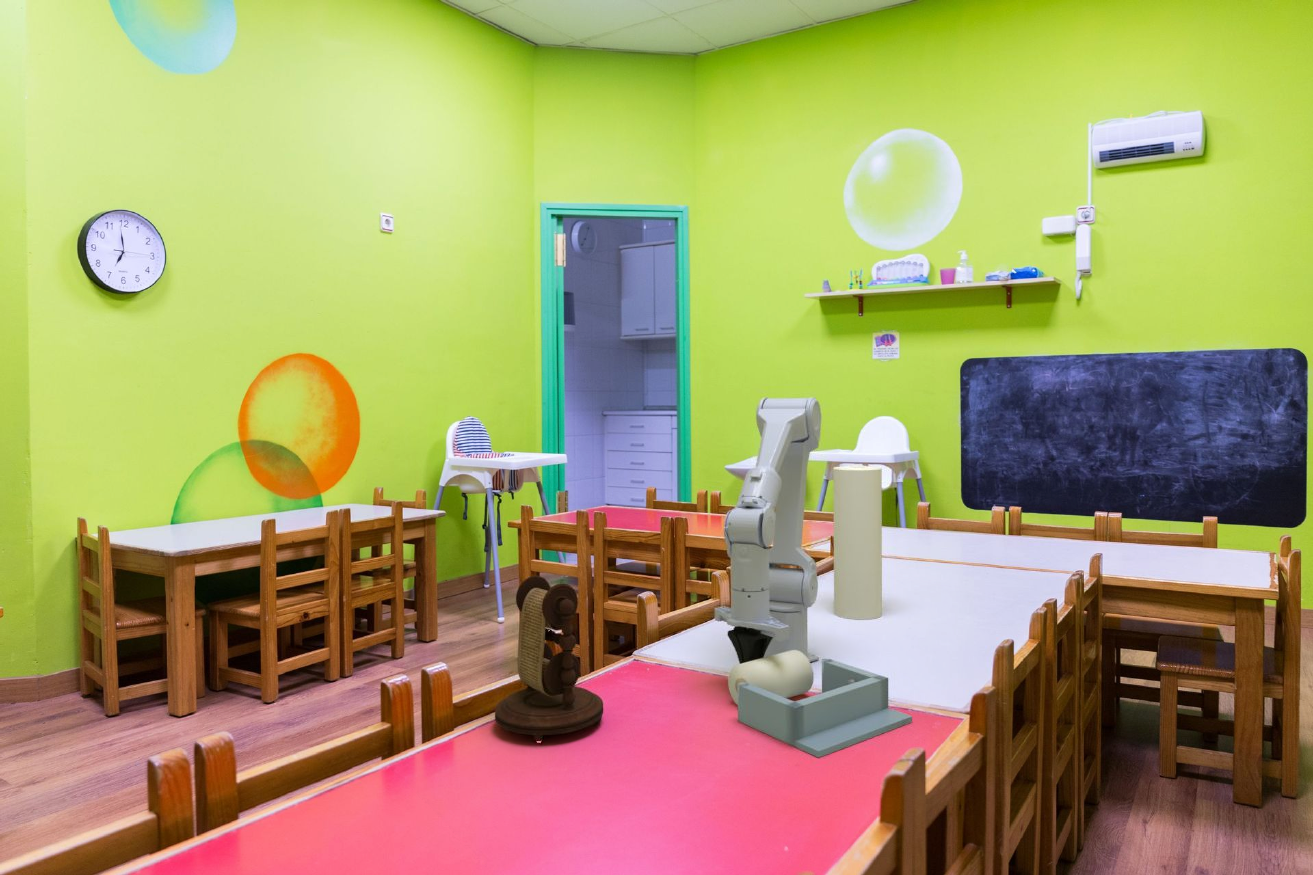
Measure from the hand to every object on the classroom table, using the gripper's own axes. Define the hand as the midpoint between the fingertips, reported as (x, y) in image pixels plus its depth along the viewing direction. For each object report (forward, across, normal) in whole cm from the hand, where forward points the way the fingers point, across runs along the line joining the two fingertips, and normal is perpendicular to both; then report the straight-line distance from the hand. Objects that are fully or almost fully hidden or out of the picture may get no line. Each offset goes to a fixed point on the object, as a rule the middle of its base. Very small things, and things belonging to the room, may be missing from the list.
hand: (750, 676), depth 127 cm
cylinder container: (+2, -20, +47) cm, 51 cm away
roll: (-1, +4, 0) cm, 4 cm away
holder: (+2, +14, 0) cm, 15 cm away
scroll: (+2, -8, -30) cm, 31 cm away
